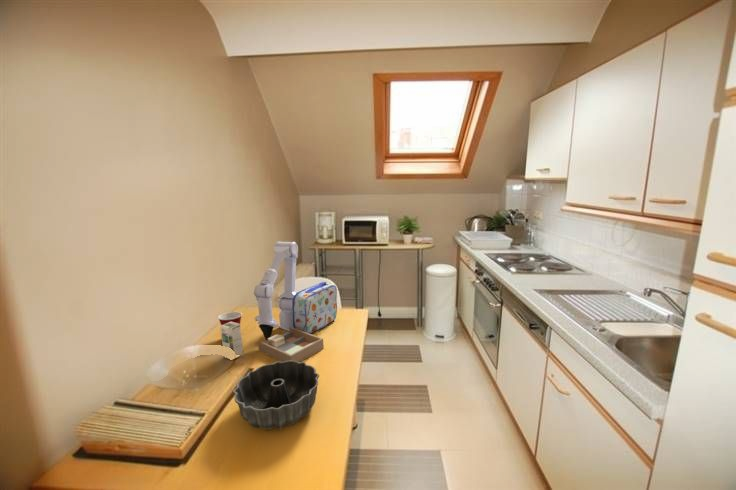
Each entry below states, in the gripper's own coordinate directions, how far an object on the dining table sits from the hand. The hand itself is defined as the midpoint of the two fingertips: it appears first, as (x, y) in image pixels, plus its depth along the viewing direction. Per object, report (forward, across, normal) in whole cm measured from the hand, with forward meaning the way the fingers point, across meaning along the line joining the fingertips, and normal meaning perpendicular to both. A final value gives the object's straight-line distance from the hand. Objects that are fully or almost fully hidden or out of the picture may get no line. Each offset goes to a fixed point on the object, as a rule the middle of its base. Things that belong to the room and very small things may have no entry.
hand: (268, 338), depth 151 cm
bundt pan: (+4, +40, -24) cm, 47 cm away
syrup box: (+3, -4, -14) cm, 16 cm away
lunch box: (+3, +3, +27) cm, 28 cm away
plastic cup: (+3, -20, -6) cm, 21 cm away
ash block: (+1, +6, 0) cm, 6 cm away
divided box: (+3, +11, +4) cm, 12 cm away
